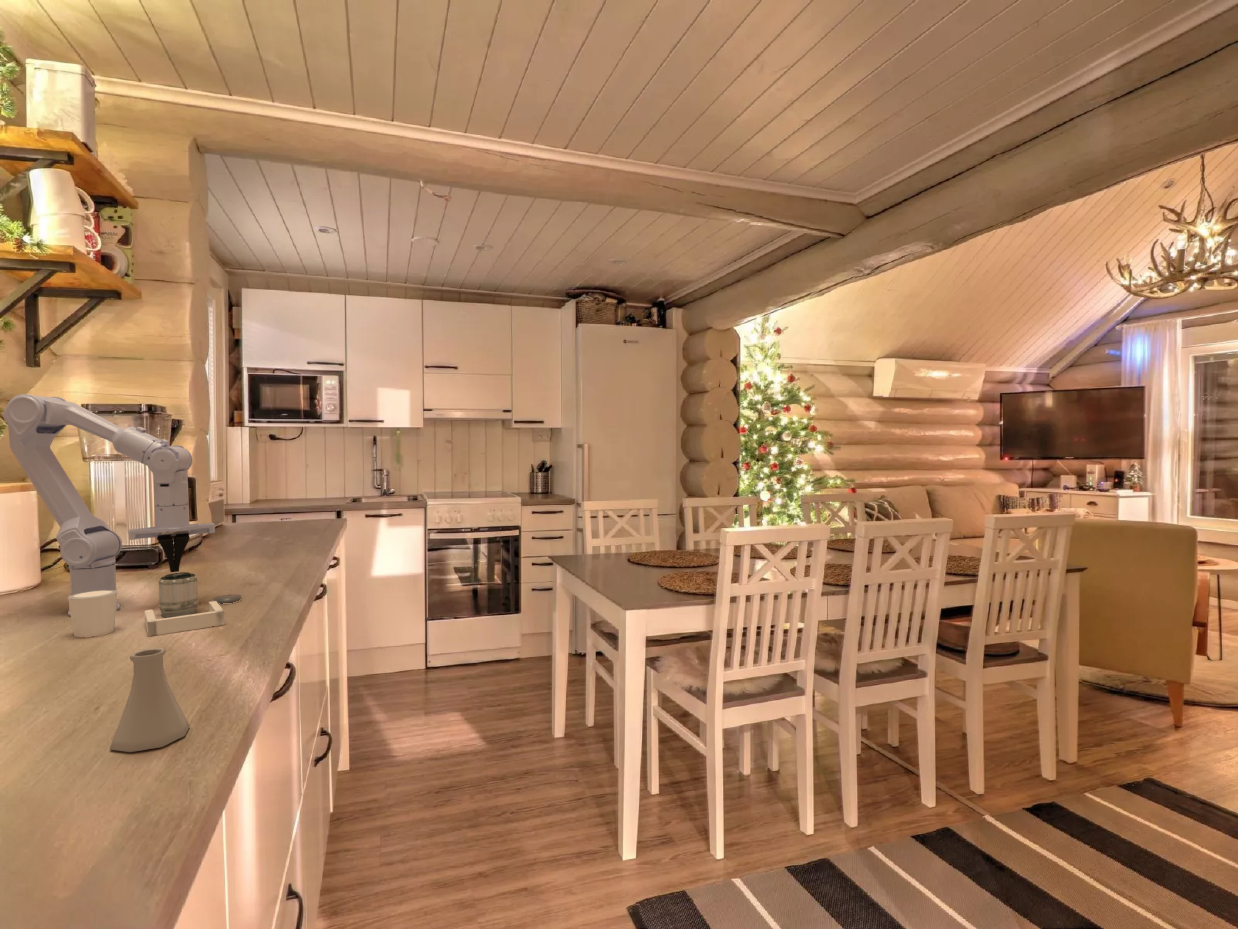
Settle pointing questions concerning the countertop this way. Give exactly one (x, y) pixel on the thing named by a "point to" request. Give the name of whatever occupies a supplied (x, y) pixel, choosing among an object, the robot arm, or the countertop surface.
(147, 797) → the countertop surface
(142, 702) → the flask
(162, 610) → the camera lens
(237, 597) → the grey round disc
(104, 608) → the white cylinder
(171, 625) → the cradle
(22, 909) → the countertop surface
